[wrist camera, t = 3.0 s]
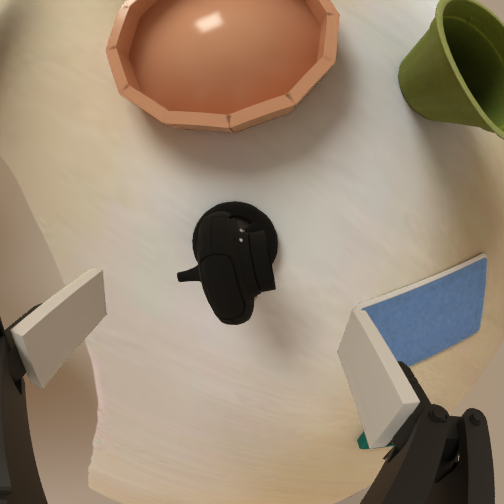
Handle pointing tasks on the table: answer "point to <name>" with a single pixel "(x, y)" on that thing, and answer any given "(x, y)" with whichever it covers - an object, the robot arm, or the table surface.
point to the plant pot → (458, 67)
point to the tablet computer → (431, 311)
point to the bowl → (221, 58)
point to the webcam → (233, 259)
